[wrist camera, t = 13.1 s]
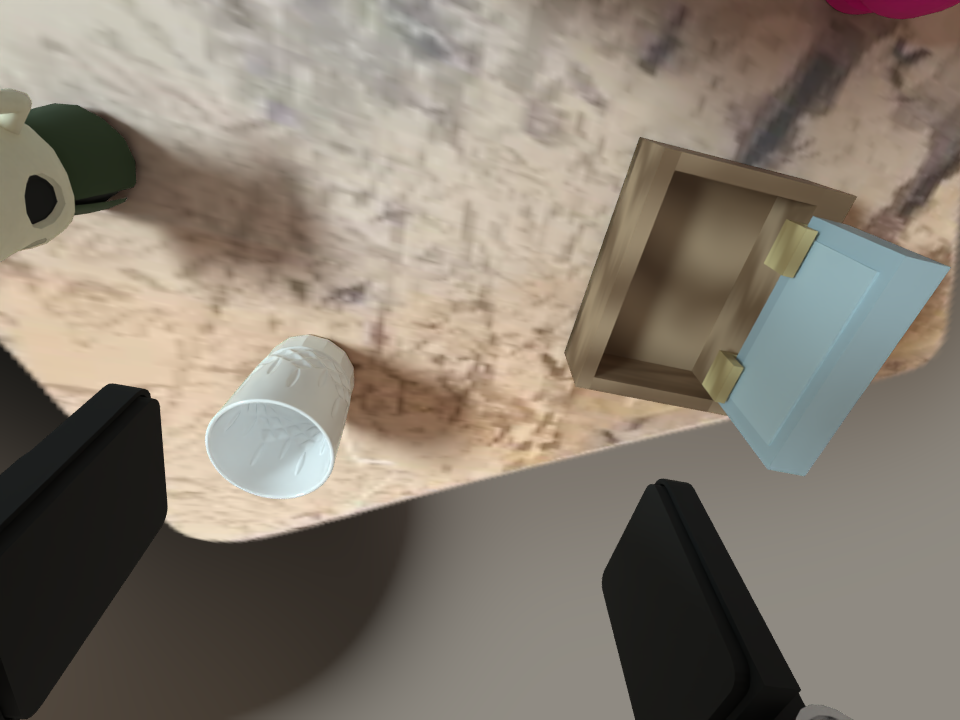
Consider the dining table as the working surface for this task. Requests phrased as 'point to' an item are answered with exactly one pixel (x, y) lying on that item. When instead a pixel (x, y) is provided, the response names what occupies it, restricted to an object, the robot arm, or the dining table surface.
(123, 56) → the dining table surface
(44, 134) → the character mug
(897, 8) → the pepper mill
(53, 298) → the dining table surface
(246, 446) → the white cup
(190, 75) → the dining table surface
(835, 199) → the carcass
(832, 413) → the door
